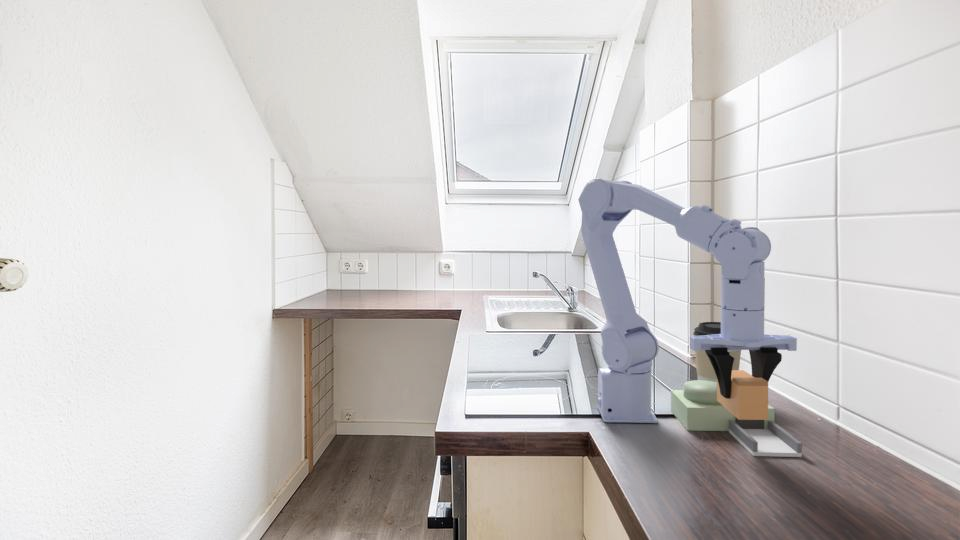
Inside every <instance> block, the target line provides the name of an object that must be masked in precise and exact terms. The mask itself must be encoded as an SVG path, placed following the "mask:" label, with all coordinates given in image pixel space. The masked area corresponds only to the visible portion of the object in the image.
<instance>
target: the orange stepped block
mask: <svg viewBox="0 0 960 540" xmlns="http://www.w3.org/2000/svg"><path fill="white" fill-rule="evenodd" d="M717 401H718V402H719V403H720V404H722V405H723V406H724V407H725V408H726V409H727V410H728V411H729V412H731V413H732V414H733V415H734V416H735V417H736V418H737V419H738V420H768V404H769V382H768V381H766V380H764V379H763V378H755V377H753V376H752V374H750V373H749V372H747V371H745V370H744V369H739V370H732V374H731V397H730V398H725V397H723V396H722V395H721V393H720V388H719V383H718V380H717Z"/></svg>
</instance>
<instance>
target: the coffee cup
mask: <svg viewBox="0 0 960 540" xmlns="http://www.w3.org/2000/svg"><path fill="white" fill-rule="evenodd" d="M713 334H721V321H705V322H704V321H703V322H699V324H698V326H696V327H695V328H694V331H693V333H692V335H693V336H702V335H713ZM728 352H730V356H732V357H733V358H734V362H733V367H732V370H740V363H741V355H742V354H741V353H742V350H728ZM694 358H695V367H696V374H697V375H696V376H697V380H706V381H713V382H717V376H716V373H715V371H714V368H713V366H712V364H711V362H710V360H709V358H708V356H707V354H706V352H705V350H701V351H694Z"/></svg>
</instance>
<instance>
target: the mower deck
mask: <svg viewBox="0 0 960 540" xmlns="http://www.w3.org/2000/svg"><path fill="white" fill-rule="evenodd" d="M775 409H776V408H775V407H773V406H772V405H770V404H769V403H768V420H738V419H737V418H736V417H735V416H734V415H733V414H732V413H731V412H729V411H728V410H727V409H726V408H725V407H724V406H723V405H722V404H720V403H719V402H718V401H717V382H713V381H706V380H698V379H694V380H687V381H685V382H684V383H683V389H670V412H671V413H672V414H673V415H674V416H675V418H676V419H677V420H678V421H679V422H680V424H681V425H682V426H683V427H684V429H685V430H686V431H694V432H695V431H698V432H700V431H702V432H703V431H704V432H728V433H729V434H730V435H731V436H732V437H733V438H734V439H735V440H736V441H738V443H739V444H740V445H741V446H742V447H744V449H745V450H746V451H748V452H749V454H751V455H752V456H753V457H780V458H781V457H782V458H783V457H784V458H785V457H786V458H789V457H790V458H802V455H803V454H802V453H803V442H802V441H800V440H798V439H797V438H796V437H794V436H793V435H792V434H791V433H789V432H788V431H787V430H785V429H784V428H783V427H781V426H780V425H779V424H777V423H776V422H775V414H776V413H775V411H776V410H775Z"/></svg>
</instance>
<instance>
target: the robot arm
mask: <svg viewBox="0 0 960 540" xmlns="http://www.w3.org/2000/svg"><path fill="white" fill-rule="evenodd" d="M578 203H579V207H580V211H581V227H580V228H581V229H580V230H581V235H582V236H581V237H582V239H583V242H584V245H585V249H586V254H587V256H588V257H587V258H588V261H589V264H590V266H591V271H592V274H593V276H594V280H595V284H596V287H597V288H596V289H597V291H598V294H599V298H600V302H601V304H602V305H601V306H602V308H603V312H604V315H605V319H606V322H605V324H604V325H603V326H602V329H601V331H600V336H601V341H602V346H601V354H602V355H601V356H602V358H603V360H604V362H605V363H606V365H607V366H608V367H607V366H606V367H600V368H598V371H597V408H598V410H599V414H600V416H601V419H602V421H603V422H604V423H636V424H637V423H640V424H641V423H642V424H643V423H644V424H657V423H659V419H658V418H657V417H656V415H655V414H654V412H653V411H652V366H653V361H654V360H655V358H656V357H657V356H658V353H659V350H660V349H659V342H658V339H657V338H656V336H655V335H654V333H653V332H652V331H651V329H650V328H649V325H648V322H647V320H645V318H643V317H642V316H641V315H639V314H638V313H637V311H636V307H635V305H634V301H633V298H632V295H631V291H630V287H629V285H628V281H627V277H626V274H625V272H624V267H623V265H622V262H621V261H622V260H621V258H620V255H619V252H618V249H617V246H616V245H617V244H616V242H615V240H614V235H613V233H614V232H615V230H616V229H617V227H618V226H619V224H621V222H623V220H624V219H625V218H626V217H627V216H629V214H631V212H632V211H633V210H634V211H635V210H637V211H640V212H642V213H643V214H644V213H645V214H646V215H649V216H651V217H654V218H656V219H658V220H660V221H662V222H665V223H667V224H669V225H672V226H673V227H674V228H675V232H676V235H677V237H679V238H680V239H682V240H683V241H686V242H688V243H690V244H692V245H694V246H696V247H698V248H699V249H701V250H703V251H706V252H708V253H709V254H711V255H714V258H715V259H716V260H717V262H718V263H719V264H720V266H721V268H720V271H721V272H720V273H721V274H720V275H721V276H720V322H721V334H713V335H702V336H694V335H689V349H691V350H692V351H693V352H695V351H701V350H705V352H706V354H707V356H708V358H709V360H710V362H711V364H712V366H713V368H714V371H715V373H716V376H717V380H718V383H719V388H720V393H721V395H722V396H723V397H725V398H730V397H731V374H732V367H733V362H734V358H733V357H732V356H730V352H728V350H741V351H746V350H748V351H749V358H750V364H751V365H750V366H751V375H752V376H753V377H755V378H763V379H764V380H766V381H768V383H769V381H770V378H771V377H772V375H773V373H774V372H775V370H776V369H777V368H778V366H779V365H780V363H781V362H782V359H783V355H782V353H781V352H778V350H779V351H780V350H782V351H785V350H786V351H790V352H792V351H793V352H797V348H798V346H797V345H798V342H797V340H798V338H797V337H794V336H792V335H789V334H788V335H785V334H781V335H779V334H765V302H766V301H765V298H766V297H765V295H766V294H765V293H766V292H765V288H766V287H765V286H766V285H765V284H766V282H765V281H766V278H765V260H767V259H768V257H769V256H770V254H771V250H772V244H771V240H770V238H769V236H768V235H767V234H766V233H764V232H763V231H762V230H760V229H759V228H758V227H754V226H748V227H743V228H742V225H741V224H742V221H740V220H738V219H734V218H733V219H728V218H726V217H724V216H722V215H719V214H718V213H716V212H713V210H714V208H713V207H712V206H709V205H706V204H703V205H701V206H700V205H693V206H690V207H688V208H685V207H683V206H681V205H679V204H677V203H675V202H673V201H671V200H669V199H668V198H665V197H664V196H662V195H660V194H657V192H654V191H652V190H650V189H649V188H646V187H645V186H642V185H639V184H635V183H632V182H630V181H628V180H620V181H619V180H611V179H610V180H608V179H603V178H593V179H591V180H589V181H588V182H586V184H585V186H584V187H583V189H582V191H581V193H580V195H579V197H578Z"/></svg>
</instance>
